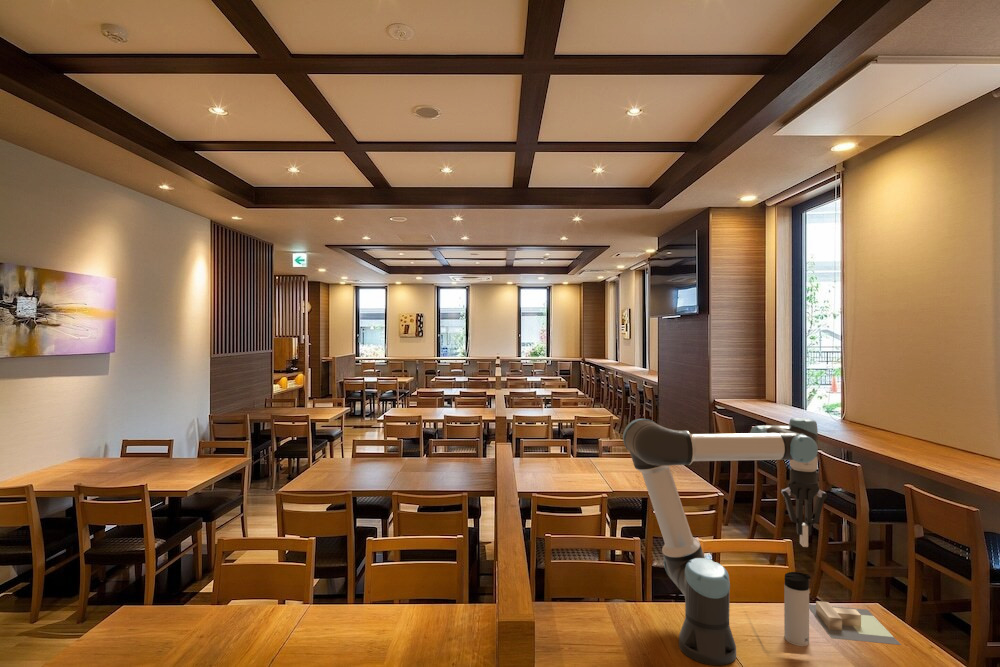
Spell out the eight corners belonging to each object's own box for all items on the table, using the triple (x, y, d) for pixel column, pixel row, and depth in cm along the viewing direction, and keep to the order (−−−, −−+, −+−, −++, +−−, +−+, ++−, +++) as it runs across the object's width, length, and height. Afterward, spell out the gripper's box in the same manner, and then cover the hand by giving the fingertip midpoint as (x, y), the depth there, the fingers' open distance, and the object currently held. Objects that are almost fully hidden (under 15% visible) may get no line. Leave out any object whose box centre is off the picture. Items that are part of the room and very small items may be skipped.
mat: (831, 642, 156) (831, 637, 156) (806, 607, 175) (806, 604, 175) (901, 649, 152) (901, 644, 152) (867, 613, 172) (867, 609, 172)
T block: (829, 629, 160) (828, 617, 160) (816, 612, 170) (816, 601, 170) (866, 632, 158) (866, 620, 158) (851, 615, 168) (851, 604, 168)
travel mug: (813, 651, 151) (813, 580, 151) (788, 648, 152) (788, 578, 152) (806, 639, 157) (805, 570, 157) (781, 636, 158) (781, 568, 158)
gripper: (784, 470, 164) (785, 548, 164) (831, 472, 161) (832, 551, 161) (777, 465, 171) (777, 539, 171) (821, 466, 169) (822, 542, 169)
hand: (803, 545), depth 166 cm, fingers closed
